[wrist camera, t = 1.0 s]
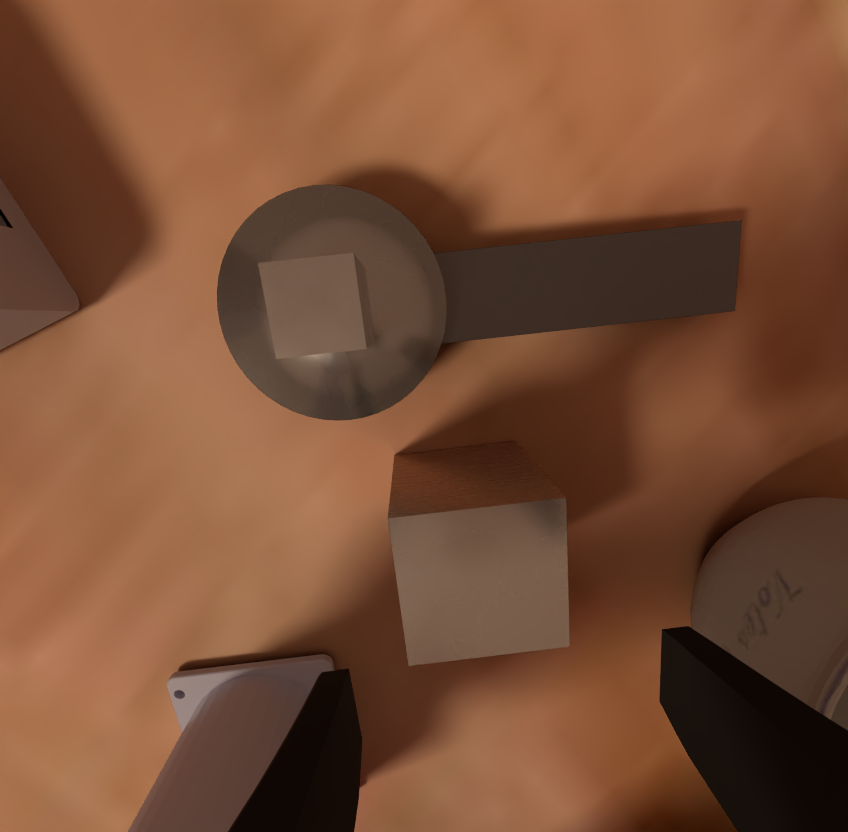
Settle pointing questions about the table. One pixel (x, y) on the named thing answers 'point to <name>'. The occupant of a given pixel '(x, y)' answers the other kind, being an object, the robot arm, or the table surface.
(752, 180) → the table surface
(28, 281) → the charger
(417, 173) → the table surface
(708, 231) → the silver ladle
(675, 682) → the robot arm
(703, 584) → the teacup
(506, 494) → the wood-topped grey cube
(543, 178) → the table surface
